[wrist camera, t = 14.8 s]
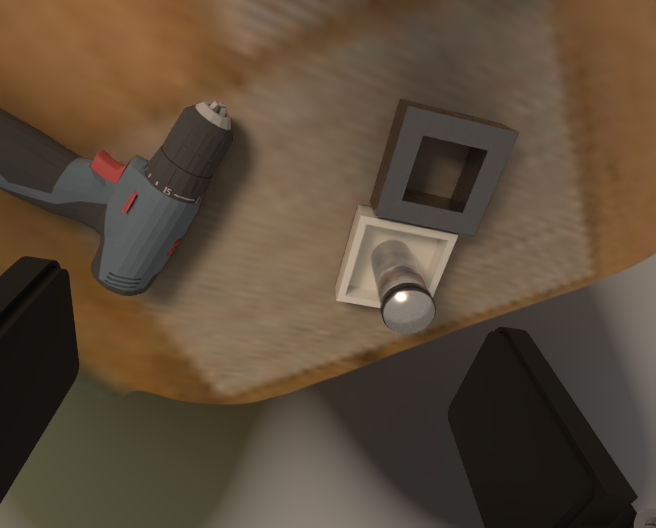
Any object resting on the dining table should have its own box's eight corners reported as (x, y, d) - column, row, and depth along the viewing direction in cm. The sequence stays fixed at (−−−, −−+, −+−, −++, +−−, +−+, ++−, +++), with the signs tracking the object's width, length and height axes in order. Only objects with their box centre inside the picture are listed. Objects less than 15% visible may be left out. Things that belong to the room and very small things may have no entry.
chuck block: (399, 98, 35) (408, 105, 32) (501, 123, 36) (519, 132, 33) (369, 201, 39) (374, 215, 36) (462, 220, 40) (474, 236, 37)
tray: (358, 204, 39) (360, 215, 37) (450, 223, 40) (458, 235, 38) (335, 286, 43) (336, 300, 41) (419, 301, 44) (424, 315, 42)
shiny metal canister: (376, 235, 40) (391, 286, 32) (418, 243, 40) (444, 296, 32) (364, 273, 42) (376, 330, 34) (405, 280, 42) (425, 338, 34)
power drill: (7, -59, 29) (257, 120, 35) (-63, 159, 36) (156, 276, 42) (-51, -75, 24) (248, 135, 31) (-118, 179, 31) (137, 308, 38)
